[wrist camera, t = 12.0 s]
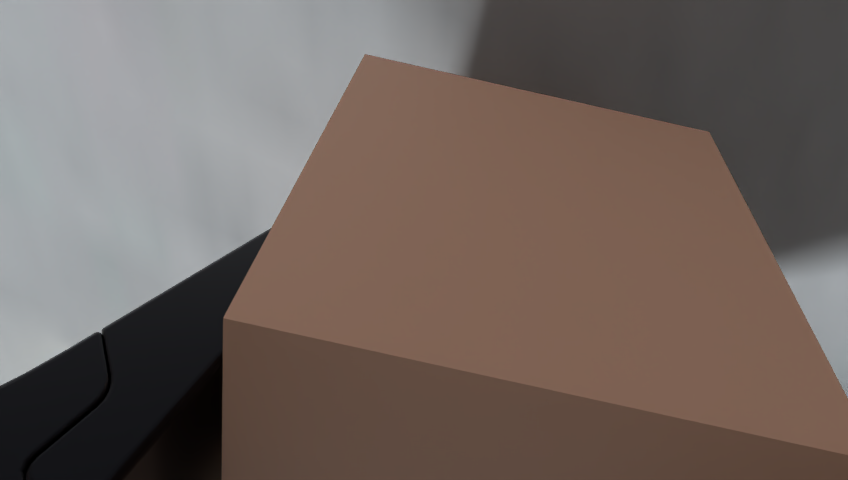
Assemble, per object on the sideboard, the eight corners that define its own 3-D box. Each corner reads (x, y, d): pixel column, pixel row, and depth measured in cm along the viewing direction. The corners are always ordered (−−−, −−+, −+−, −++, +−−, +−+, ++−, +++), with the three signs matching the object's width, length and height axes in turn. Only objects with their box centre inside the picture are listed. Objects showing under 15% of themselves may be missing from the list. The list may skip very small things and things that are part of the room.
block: (329, 311, 11) (219, 625, 7) (364, 53, 8) (222, 317, 4) (592, 369, 11) (634, 712, 7) (708, 132, 9) (882, 462, 4)
